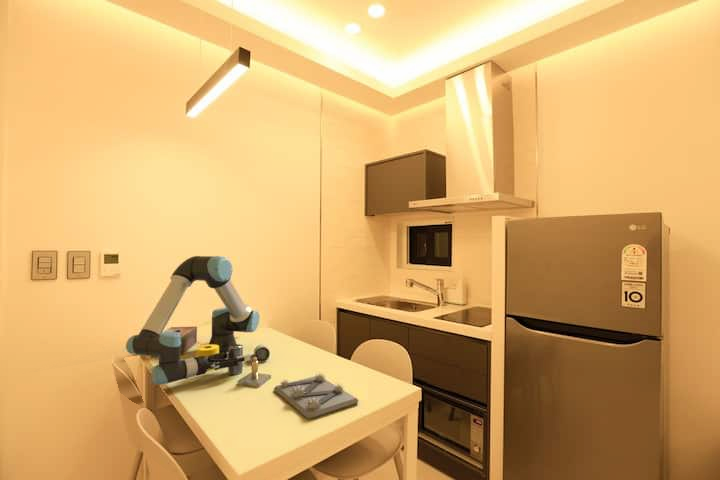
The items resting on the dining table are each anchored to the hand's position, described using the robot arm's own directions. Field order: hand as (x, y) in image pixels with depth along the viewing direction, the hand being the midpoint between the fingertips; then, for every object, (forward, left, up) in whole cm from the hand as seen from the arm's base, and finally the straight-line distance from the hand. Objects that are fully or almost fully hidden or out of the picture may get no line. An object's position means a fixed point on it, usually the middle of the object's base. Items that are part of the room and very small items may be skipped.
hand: (245, 354), depth 158 cm
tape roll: (+1, -19, -7) cm, 21 cm away
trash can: (+4, -2, -7) cm, 8 cm away
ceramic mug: (-14, -1, -7) cm, 16 cm away
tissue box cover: (-19, -55, -7) cm, 59 cm away
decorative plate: (+19, +42, -8) cm, 47 cm away
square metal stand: (+11, +12, -7) cm, 18 cm away
